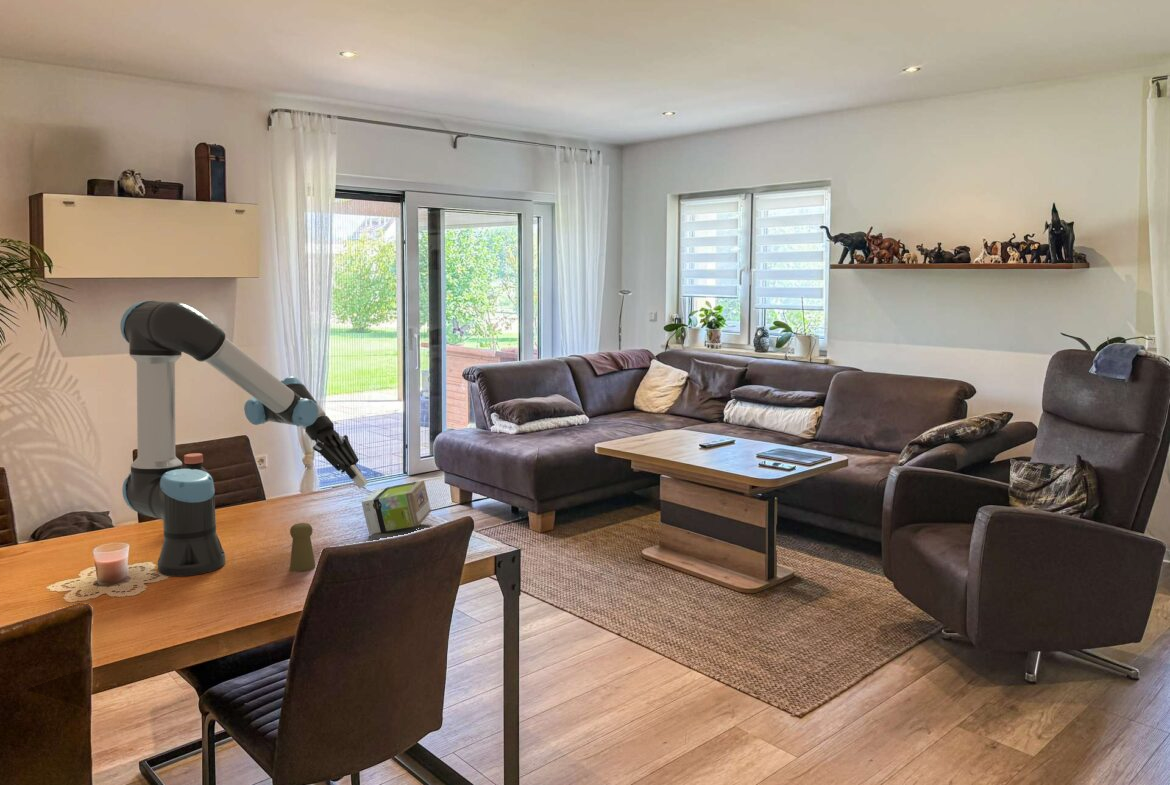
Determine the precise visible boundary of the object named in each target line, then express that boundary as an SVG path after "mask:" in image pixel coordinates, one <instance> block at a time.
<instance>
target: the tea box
mask: <svg viewBox="0 0 1170 785" xmlns="http://www.w3.org/2000/svg"><path fill="white" fill-rule="evenodd" d="M427 492H428V491H427V487H426V483H425V480H423V479H422V480H417V481H412V482H408V483H404V484H398V485H392V486H388V487H387V486H386V487H382V488H378V489H376V490H374V492H372V493H371V494H369V495H368V496H367V497H366V498H365V499H364V500H363V501H361V506H362V510H363V515H364V519H365V523H366V527H367V530H368V534H369V535H372V534H376V533H381V532H386V531H392V530H397V529H403V528H408V527H414V526H421V524H422V523H423V522H424V521H425V519H426V518H427V517H428V516H429V515H430V513H431V512H432V509H431V504H430V499H429V496H428V493H427Z"/></svg>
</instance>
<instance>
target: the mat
mask: <svg viewBox="0 0 1170 785" xmlns="http://www.w3.org/2000/svg"><path fill="white" fill-rule="evenodd" d="M420 526H421V527H420ZM418 528H419V529H418ZM424 528H428V526H425V525H424V526H423V525H418V526H414V527H408V528H403V529H397V530H392V531H386V532H381V533H376V534H369V536H368V539H370V538H372V539H371V540H377V539H380V538H387V537H393V536H398V535H404V534H408V533H411V532H414V531H417V530H421V529H424ZM416 529H417V530H416Z"/></svg>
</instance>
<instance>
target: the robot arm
mask: <svg viewBox="0 0 1170 785" xmlns="http://www.w3.org/2000/svg"><path fill="white" fill-rule="evenodd" d="M120 319H121V320H120V323H119V324H120V325H119V326H120V333H121V335H122V337H123V338H124V340H125V341H126V343H128V346H129V348H128V349H129V351H128V352H129V356H130V357H131V359H133V361H134V362H135V363H136V417H137V418H136V419H137V420H136V421H137V424H136V425H137V426H136V427H137V428H136V430H137V431H136V432H137V433H136V434H137V440H136V441H137V457H136V458H135V459H134V461H133V462H132V463H131V464H130V473H128V475H127V477H126V478H125V479H124V481H123V484H122V497H123V500H124V502H125V503H126V505H127V506H128V507H129V509H131V510H132V511H134V512H135V513H136V512H137V513H138V514H140V515H142V516H144V517H151V518H155V519H158V520H161V521H162V525H163V527H162V528H163V542H162V545H161V550H160V553H159V554H160V555H159V557H158V559H157V572H158V573H159V574H161V575H164V576H169V577H190V576H191V577H192V576H197V575H203V574H206V573H210V572H214V571H217V570H218V569H220V568H222V567H223V566H225V564H226V553H225V551H224V549H223V546H222V544H221V541H220V538H219V536H218V533H217V526H216V524H217V523H216V521H217V520H216V508H215V507H216V504H215V502H216V501H215V491H216V489H215V483H214V478H213V477H212V475H211V474H210V473H209V472H208V471H207V472H205V471H202V470H197V469H194V470H191V469H185V468H183V462H182V461H181V460H180V459H179V458H178V457H177V455H176V362H177V361H178V360H179V359H180V358H181V357H182V354H183V353H184V354H187V355H189V356H190V357H191V358H193V359H194V360H196V361H198V362H199V363H200V362H206V363H207V364H208V365H210V366H211V367H213V368H214V369H215V370H216V371H218V372H220V374H222V376H224V377H226V379H227V378H228V380H230V381H231V382H233V383H234V384H235V385H236V386H239V388H241V389H243V391H245V392H246V393H247V394H248V395H250V396H252V397H253V398H252V397H251V398H249V399H248V400H246V401H245V403H244V408H243V410H244V411H243V412H244V416H245V417H246V419H247V421H248V422H249V423H250V424H252V425H254V426H255V425H256V426H258V425H261V424H263V425H264V424H266V423H268V422H271V423H272V422H273V423H279V424H285V425H292V426H296V427H302V429H303V430H305V434H307V436H308V437H309V438H310V440H312V441H313V442H315V444H314V445H313V447H312V450H314V451H316V452H317V453H319V454H320V455H321V456H322V457H323V458H324V459H325V460H326V461H327V462H328V463H329V464H330V465H331V466H332V467H333V468H335V469H336V471H338V472H339V471H340V472H341V473H342V474H344V473H346V474H347V476H348V477H349V478H350V479H351V480H352V481H353V483H354V484H355V485H356V486H357V488H358V489H359V490H361V489H363V488H364V487H365V486H366V485H367V484H368V482H369V481H368V480H367V479H366V477H365V476H364V475H363V472H362V471H361V470H360V468H359V467H358V466H357V464H358V462H359V458H358V456H357V454H356V453H355V451H354V449H353V446H352V445H351V444H350V441H349V436H348V435H346V434H344V435H343V436H342V435H341V434H339V432H337V431H336V430H335V428H334V426H335V425H334V423H333V421H332V420H331V419H330V418H329V416H328V415H326V412H325V411H324V409H323V408H322V407H321V405H320V404H318V402H317V401H316V399H315V398H314V397H313V396H312V394H311V393H310V392H309V390H308V389H307V388H306V387H307V386H306V385H304V384H303V383H302V382H301V380H300V379H299V378H297V377H296V376H288V377H285V378H284V379H282V380H279V378H277V377H276V376H275V375H273V374H272V373H271V372H269V371H268V370H267V369H265V368H264V367H263V366H262V365H261V364H260V363H258V362H257V361H256V360H255V359H253V358H252V357H251V356H249V355H248V353H246V352H245V351H243V350H242V349H241V348H239V347H238V346H237V345H236V344H234V343H233V342H232V341H230V340H229V338H227V333H226V331H225V330H223V329H222V328H221V327H220V326H218V324H216V323H215V322H214V321H212V320H211V319H210V318H208V317H207V316H205V315H204V314H203V313H202V312H200V311H199V310H197V309H196V308H194V307H192V306H191V305H188V304H185V303H183V302H178V301H157V300H145V301H140V302H136V303H134V304H132V305H131V306H129V308H128V309H126V310H125V311H124V313H123V314H122V317H121V318H120Z"/></svg>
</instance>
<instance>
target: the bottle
mask: <svg viewBox="0 0 1170 785" xmlns="http://www.w3.org/2000/svg"><path fill="white" fill-rule="evenodd" d="M183 461H184V466H185V467H184V469H191V470H194V469H197V470H202V471H205V472H207V473H208V470H207V469H206V468H205V467H203V464H204V455H203V453H199V452H196V453H195V452H194V453H187V454H184V455H183Z"/></svg>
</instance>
